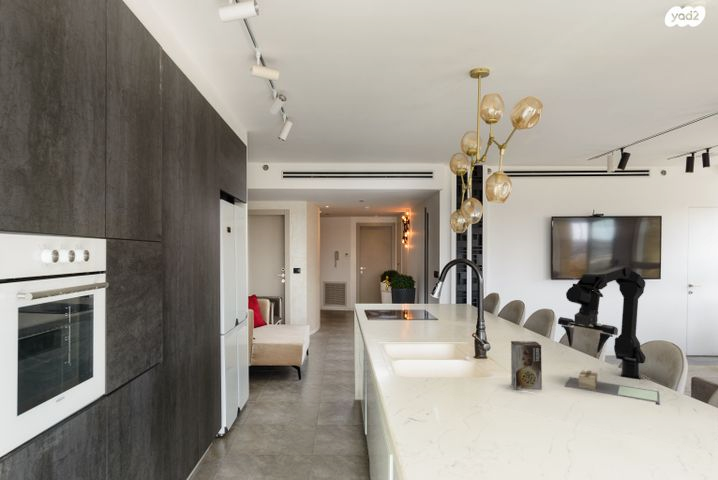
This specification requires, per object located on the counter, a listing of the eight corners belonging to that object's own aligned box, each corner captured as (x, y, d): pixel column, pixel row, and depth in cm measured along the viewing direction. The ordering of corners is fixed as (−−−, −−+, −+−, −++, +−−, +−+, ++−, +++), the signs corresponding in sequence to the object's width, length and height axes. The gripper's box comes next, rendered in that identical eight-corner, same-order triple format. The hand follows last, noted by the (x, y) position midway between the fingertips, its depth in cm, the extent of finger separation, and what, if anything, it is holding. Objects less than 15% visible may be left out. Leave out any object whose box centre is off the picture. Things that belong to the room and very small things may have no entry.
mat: (570, 378, 163) (570, 376, 163) (658, 393, 147) (658, 391, 147) (563, 388, 152) (563, 386, 152) (659, 404, 136) (659, 402, 136)
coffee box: (536, 385, 154) (536, 341, 155) (542, 391, 148) (542, 345, 148) (510, 384, 155) (510, 340, 156) (515, 390, 149) (515, 344, 149)
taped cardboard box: (582, 380, 159) (582, 369, 159) (597, 383, 156) (597, 371, 156) (578, 386, 151) (578, 375, 151) (594, 389, 148) (594, 377, 149)
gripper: (555, 300, 157) (549, 342, 155) (612, 308, 144) (607, 354, 142) (565, 304, 164) (559, 344, 162) (620, 312, 151) (615, 356, 149)
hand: (583, 349), depth 154 cm, fingers open, 9 cm apart
